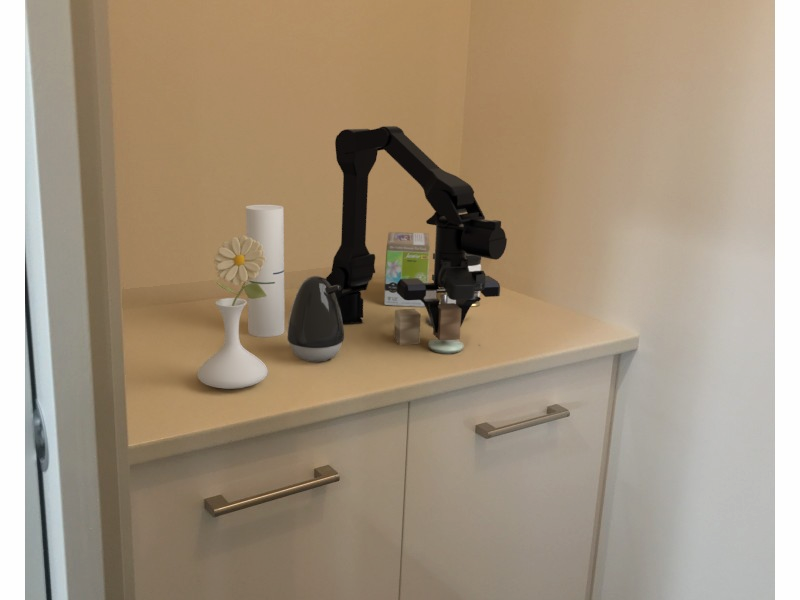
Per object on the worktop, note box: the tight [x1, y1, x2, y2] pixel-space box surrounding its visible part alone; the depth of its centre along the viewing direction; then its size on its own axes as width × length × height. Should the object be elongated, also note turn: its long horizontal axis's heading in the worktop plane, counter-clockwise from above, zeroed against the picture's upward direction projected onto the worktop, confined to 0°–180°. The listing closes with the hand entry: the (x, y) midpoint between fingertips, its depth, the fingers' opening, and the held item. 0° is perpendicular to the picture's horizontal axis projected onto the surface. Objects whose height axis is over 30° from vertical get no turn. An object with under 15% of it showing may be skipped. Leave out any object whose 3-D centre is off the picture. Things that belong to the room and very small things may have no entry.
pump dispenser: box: [286, 275, 345, 363], centre depth 139 cm, size 10×10×15 cm
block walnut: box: [432, 303, 462, 341], centre depth 147 cm, size 4×4×6 cm
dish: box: [428, 338, 464, 355], centre depth 148 cm, size 7×7×1 cm
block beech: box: [393, 308, 422, 346], centre depth 151 cm, size 4×4×6 cm
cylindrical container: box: [245, 204, 286, 338], centre depth 152 cm, size 7×7×25 cm
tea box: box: [383, 231, 431, 308], centre depth 181 cm, size 15×10×15 cm, turn 179°
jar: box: [447, 253, 482, 304], centre depth 180 cm, size 9×8×12 cm
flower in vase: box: [197, 234, 269, 390], centre depth 124 cm, size 13×11×25 cm
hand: (446, 331), depth 147 cm, fingers closed on block walnut, 4 cm apart
